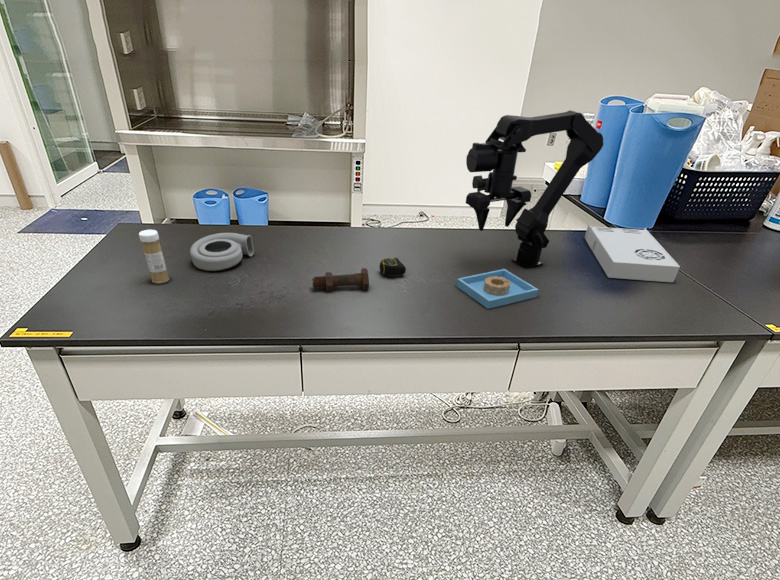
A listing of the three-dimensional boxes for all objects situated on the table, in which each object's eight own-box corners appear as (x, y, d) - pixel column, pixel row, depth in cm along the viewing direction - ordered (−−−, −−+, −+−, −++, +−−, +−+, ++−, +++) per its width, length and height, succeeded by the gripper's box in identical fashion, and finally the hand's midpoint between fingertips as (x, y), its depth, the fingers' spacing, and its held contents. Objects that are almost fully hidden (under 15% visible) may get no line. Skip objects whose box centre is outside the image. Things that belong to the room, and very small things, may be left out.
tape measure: (406, 277, 143) (407, 265, 141) (383, 280, 141) (384, 267, 139) (398, 268, 148) (399, 255, 146) (376, 270, 146) (376, 258, 144)
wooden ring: (497, 282, 141) (499, 274, 140) (513, 292, 136) (515, 284, 135) (478, 286, 139) (479, 278, 137) (494, 297, 134) (495, 289, 132)
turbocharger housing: (182, 270, 144) (226, 280, 140) (176, 249, 140) (221, 258, 136) (217, 246, 156) (258, 254, 152) (213, 226, 152) (255, 234, 147)
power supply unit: (639, 241, 172) (644, 227, 169) (673, 282, 146) (680, 266, 143) (584, 238, 173) (588, 223, 170) (608, 278, 147) (613, 262, 144)
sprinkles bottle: (169, 276, 138) (157, 228, 130) (169, 283, 135) (157, 234, 127) (151, 278, 137) (138, 229, 129) (151, 285, 134) (138, 236, 125)
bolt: (313, 294, 137) (367, 290, 138) (313, 293, 132) (369, 289, 133) (311, 272, 136) (366, 268, 137) (311, 270, 131) (367, 266, 132)
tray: (503, 276, 146) (504, 268, 144) (536, 297, 136) (538, 289, 134) (456, 286, 140) (457, 278, 138) (487, 309, 130) (489, 301, 128)
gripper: (511, 160, 142) (502, 215, 152) (457, 165, 135) (451, 223, 145) (538, 170, 134) (526, 227, 144) (482, 176, 127) (473, 236, 137)
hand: (493, 228), depth 143 cm, fingers open, 9 cm apart
